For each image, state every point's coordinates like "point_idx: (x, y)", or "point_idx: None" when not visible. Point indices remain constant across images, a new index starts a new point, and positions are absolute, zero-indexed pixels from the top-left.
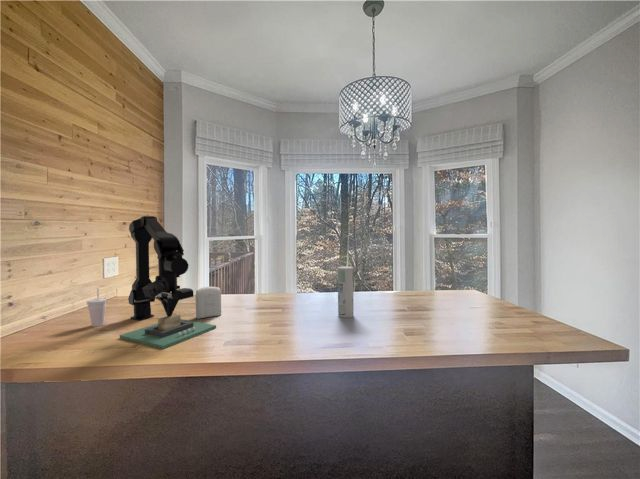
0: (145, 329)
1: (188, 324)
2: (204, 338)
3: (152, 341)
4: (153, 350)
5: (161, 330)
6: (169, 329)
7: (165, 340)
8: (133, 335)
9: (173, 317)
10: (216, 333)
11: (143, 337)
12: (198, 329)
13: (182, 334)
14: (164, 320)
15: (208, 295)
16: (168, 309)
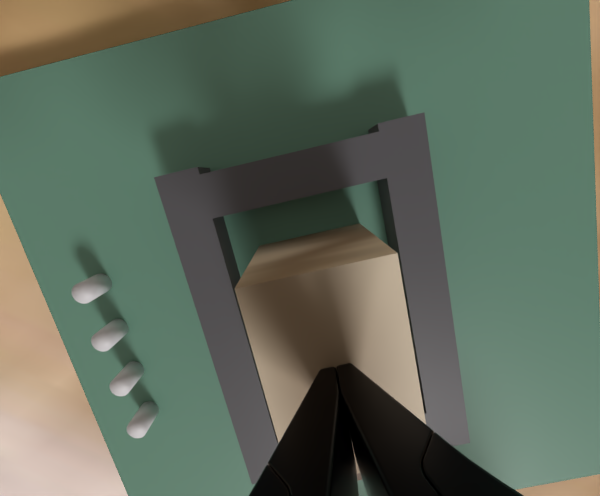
0: (416, 117)
1: (238, 439)
2: (9, 391)
3: (136, 74)
4: (5, 27)
5: (317, 236)
6: (218, 272)
7: (81, 163)
8: (451, 23)
9: (268, 393)
10: (53, 483)
11: (310, 64)
12: (157, 444)
13: (131, 318)
14: (257, 277)
15: None
16: (285, 438)
